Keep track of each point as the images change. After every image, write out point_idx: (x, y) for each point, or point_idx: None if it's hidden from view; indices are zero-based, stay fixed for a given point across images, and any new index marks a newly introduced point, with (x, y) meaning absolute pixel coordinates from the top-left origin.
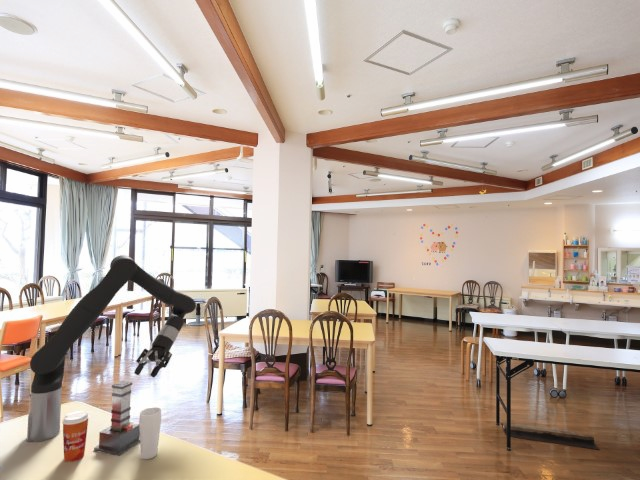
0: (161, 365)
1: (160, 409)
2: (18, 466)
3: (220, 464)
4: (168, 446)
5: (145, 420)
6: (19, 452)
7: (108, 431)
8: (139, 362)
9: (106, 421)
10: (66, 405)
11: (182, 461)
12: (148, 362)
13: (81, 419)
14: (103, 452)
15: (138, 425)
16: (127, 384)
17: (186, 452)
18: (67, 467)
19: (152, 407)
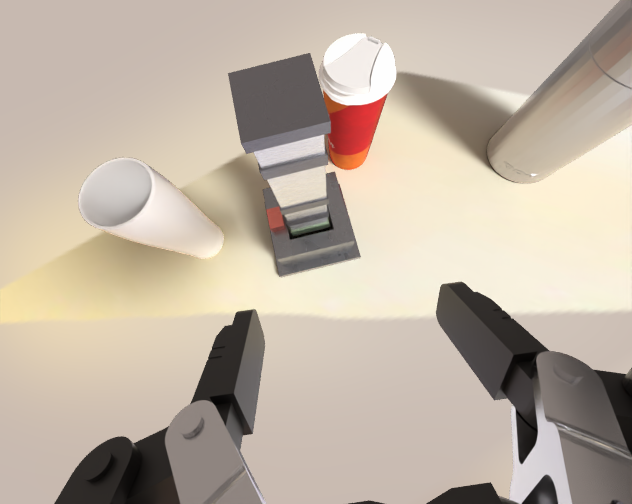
0: (131, 446)
1: (89, 221)
2: (405, 87)
3: (32, 307)
4: (197, 292)
5: (119, 170)
6: (468, 102)
7: None
8: (564, 362)
9: (478, 281)
10: None
11: (120, 268)
12: (516, 489)
13: (322, 68)
14: None
15: (276, 253)
16: (236, 109)
17: (136, 298)
18: None
19: (136, 215)
